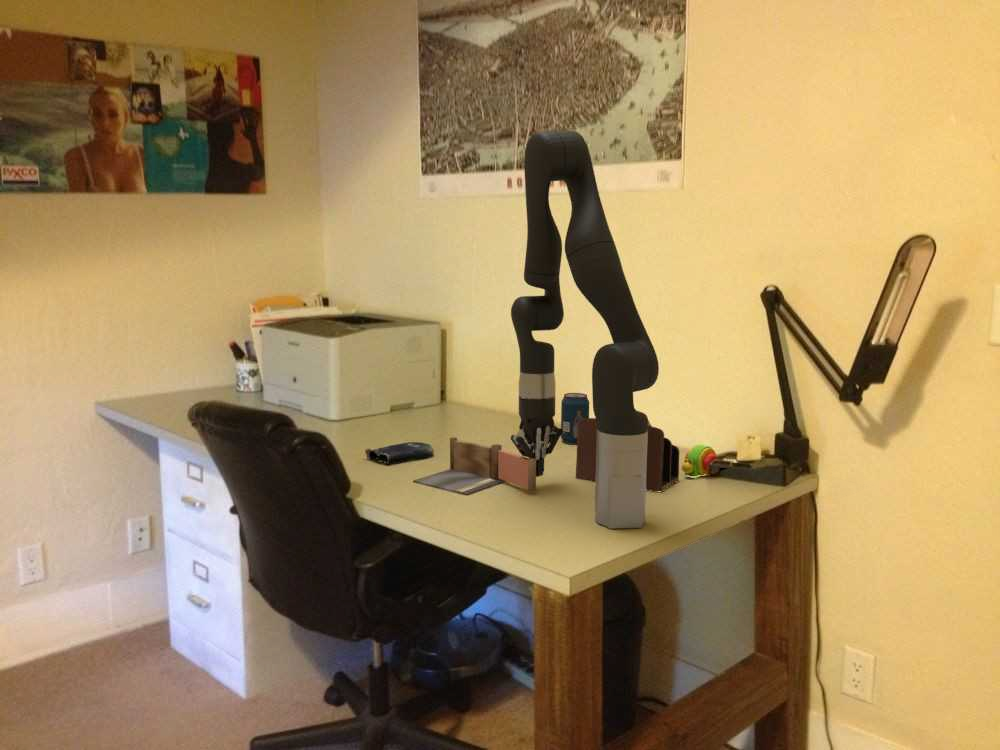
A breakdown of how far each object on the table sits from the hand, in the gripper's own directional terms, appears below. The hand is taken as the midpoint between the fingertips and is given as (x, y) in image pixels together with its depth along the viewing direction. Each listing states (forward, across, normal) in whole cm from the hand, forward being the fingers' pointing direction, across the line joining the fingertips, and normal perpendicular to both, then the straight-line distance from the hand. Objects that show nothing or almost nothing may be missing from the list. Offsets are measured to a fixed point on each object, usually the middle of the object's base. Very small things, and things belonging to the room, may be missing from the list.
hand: (536, 475), depth 189 cm
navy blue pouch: (+3, +7, -38) cm, 39 cm away
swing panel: (+2, +3, -2) cm, 4 cm away
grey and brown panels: (+2, +9, -14) cm, 17 cm away
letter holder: (+3, -19, +8) cm, 21 cm away
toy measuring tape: (+3, -38, +16) cm, 41 cm away
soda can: (+3, -34, -23) cm, 41 cm away
